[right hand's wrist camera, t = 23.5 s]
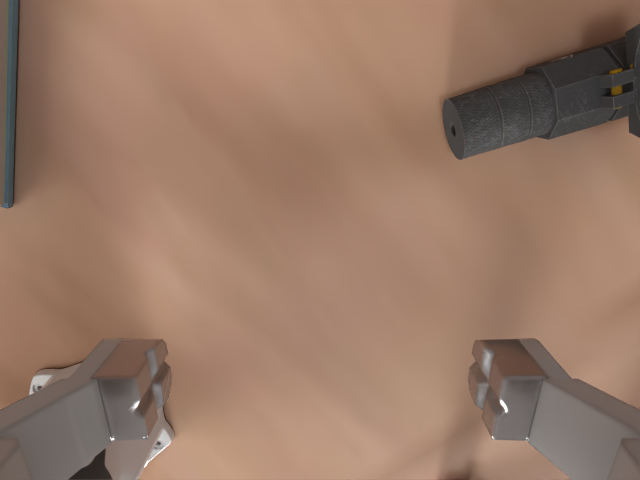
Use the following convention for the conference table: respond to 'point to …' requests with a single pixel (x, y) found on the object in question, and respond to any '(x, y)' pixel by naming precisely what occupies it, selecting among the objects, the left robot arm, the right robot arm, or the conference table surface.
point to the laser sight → (550, 99)
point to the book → (7, 97)
